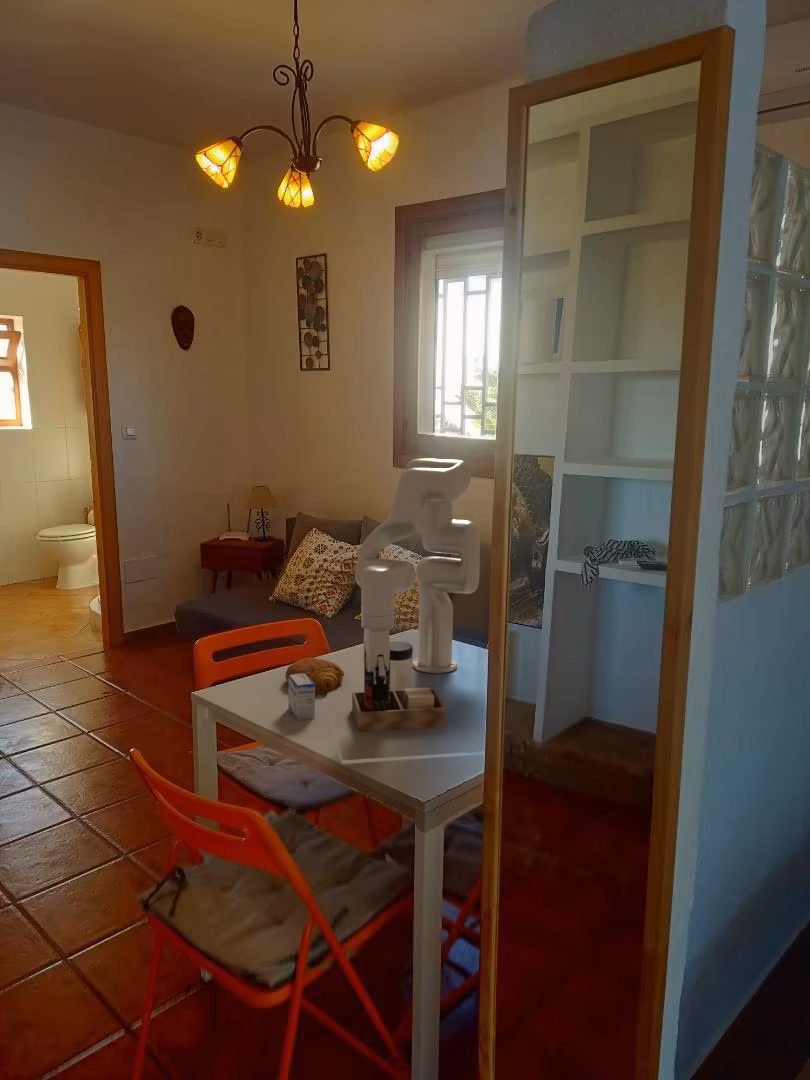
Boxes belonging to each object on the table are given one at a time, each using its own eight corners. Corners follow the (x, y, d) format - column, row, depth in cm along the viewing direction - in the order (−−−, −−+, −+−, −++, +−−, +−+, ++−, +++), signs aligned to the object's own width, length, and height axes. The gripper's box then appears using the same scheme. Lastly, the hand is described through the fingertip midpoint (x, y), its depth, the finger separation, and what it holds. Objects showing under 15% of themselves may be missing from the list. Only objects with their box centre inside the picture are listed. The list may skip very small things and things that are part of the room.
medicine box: (288, 708, 191) (287, 674, 190) (306, 706, 193) (305, 672, 192) (297, 720, 184) (296, 685, 183) (315, 718, 186) (315, 683, 185)
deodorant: (392, 716, 182) (393, 654, 180) (367, 718, 181) (367, 656, 178) (385, 706, 188) (386, 646, 185) (361, 709, 186) (361, 648, 184)
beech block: (403, 712, 189) (404, 688, 188) (428, 711, 190) (428, 687, 189) (408, 722, 183) (408, 697, 182) (433, 720, 184) (434, 696, 183)
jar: (390, 698, 199) (390, 652, 197) (373, 688, 206) (373, 644, 204) (419, 692, 204) (420, 647, 202) (402, 682, 211) (402, 639, 209)
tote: (358, 734, 177) (358, 713, 176) (352, 712, 190) (352, 692, 189) (445, 728, 181) (445, 708, 180) (433, 707, 193) (433, 688, 193)
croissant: (304, 706, 199) (305, 678, 197) (277, 680, 211) (277, 653, 209) (353, 694, 207) (355, 666, 205) (324, 669, 219) (325, 643, 217)
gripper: (356, 610, 188) (356, 682, 191) (366, 631, 171) (365, 710, 175) (387, 609, 189) (387, 681, 193) (400, 630, 173) (399, 708, 176)
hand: (377, 694), depth 184 cm, fingers closed on deodorant, 5 cm apart
